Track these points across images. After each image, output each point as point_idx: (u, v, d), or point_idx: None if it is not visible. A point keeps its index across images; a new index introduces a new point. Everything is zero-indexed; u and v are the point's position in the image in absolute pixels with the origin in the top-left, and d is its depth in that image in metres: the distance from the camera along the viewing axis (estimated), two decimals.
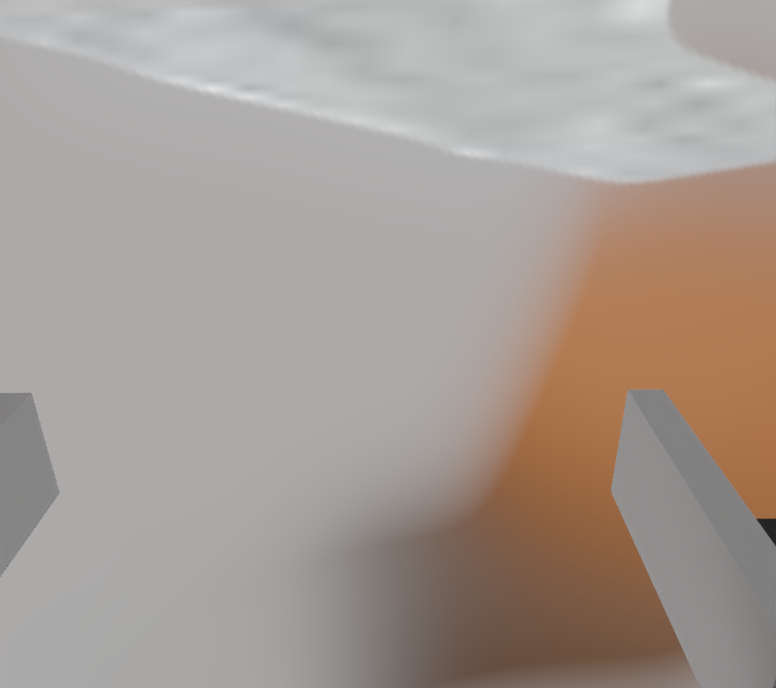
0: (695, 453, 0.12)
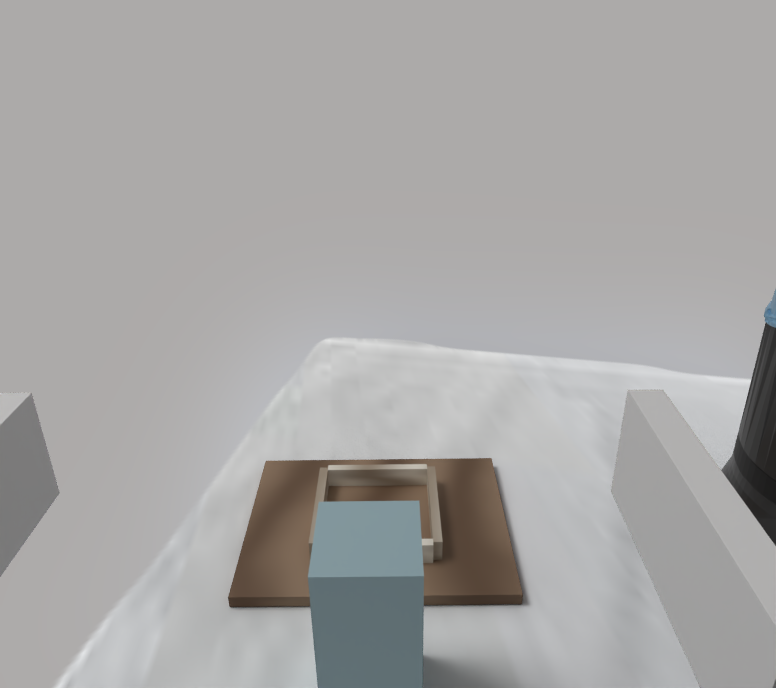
0: (695, 453, 0.12)
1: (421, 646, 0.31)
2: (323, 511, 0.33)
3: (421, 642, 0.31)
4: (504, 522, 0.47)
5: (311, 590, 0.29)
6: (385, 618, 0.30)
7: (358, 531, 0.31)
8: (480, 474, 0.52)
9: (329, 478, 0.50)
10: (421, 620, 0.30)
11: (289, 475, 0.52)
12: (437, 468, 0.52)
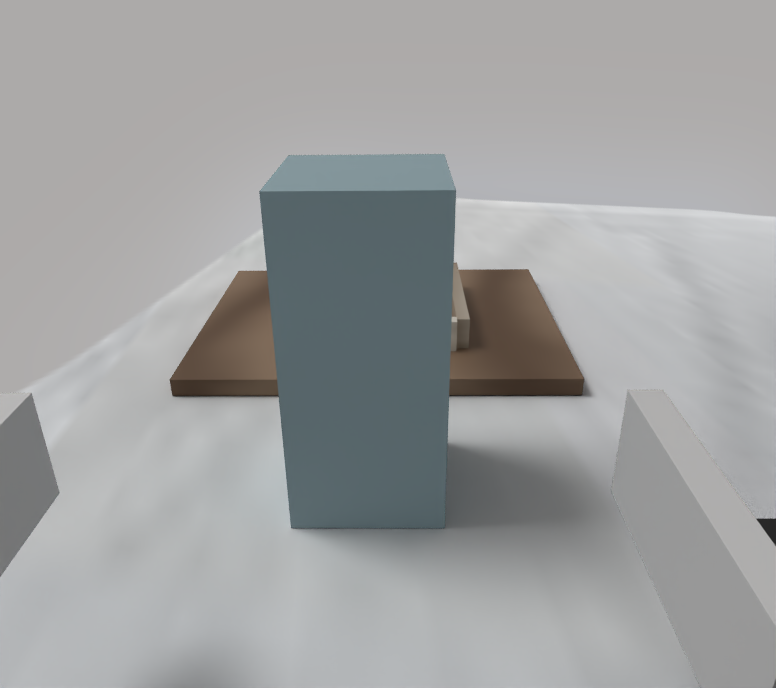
0: (695, 453, 0.12)
1: (448, 343, 0.19)
2: (294, 159, 0.21)
3: (448, 335, 0.19)
4: (551, 318, 0.35)
5: (266, 221, 0.17)
6: (390, 284, 0.18)
7: (348, 168, 0.20)
8: (515, 281, 0.40)
9: None
10: (449, 288, 0.18)
11: None
12: None
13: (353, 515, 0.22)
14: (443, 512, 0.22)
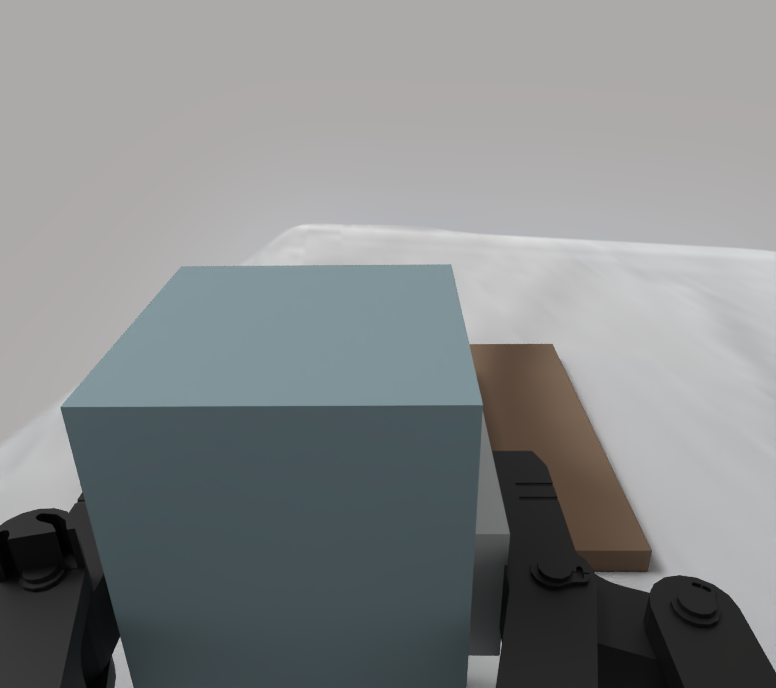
0: None
1: (463, 660, 0.10)
2: (186, 280, 0.12)
3: (463, 647, 0.10)
4: (590, 429, 0.26)
5: (83, 460, 0.08)
6: (347, 568, 0.09)
7: (273, 311, 0.10)
8: (537, 363, 0.31)
9: None
10: (466, 574, 0.09)
11: None
12: None
13: None
14: None
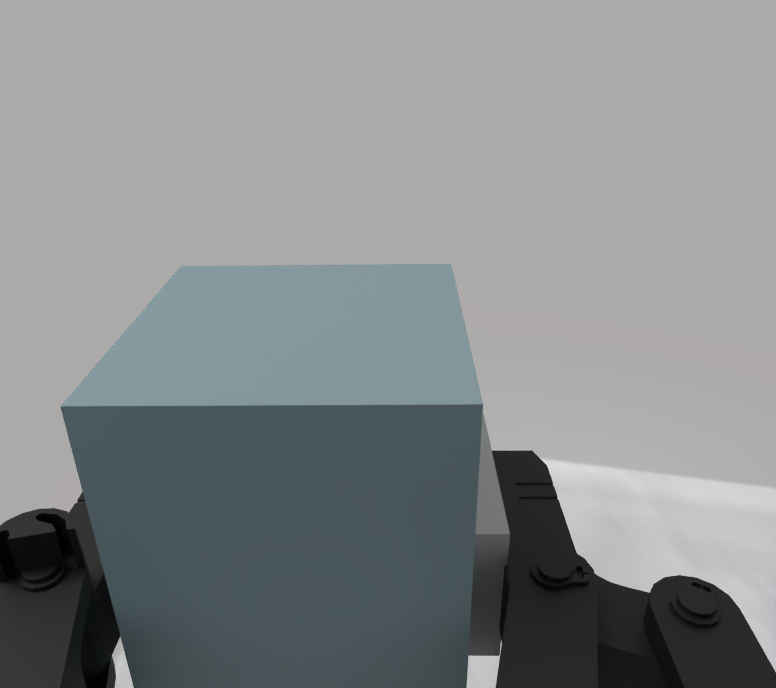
0: None
1: (462, 659, 0.10)
2: (186, 279, 0.12)
3: (463, 647, 0.10)
4: None
5: (83, 460, 0.08)
6: (347, 567, 0.09)
7: (274, 311, 0.10)
8: None
9: None
10: (466, 574, 0.09)
11: None
12: None
13: None
14: None
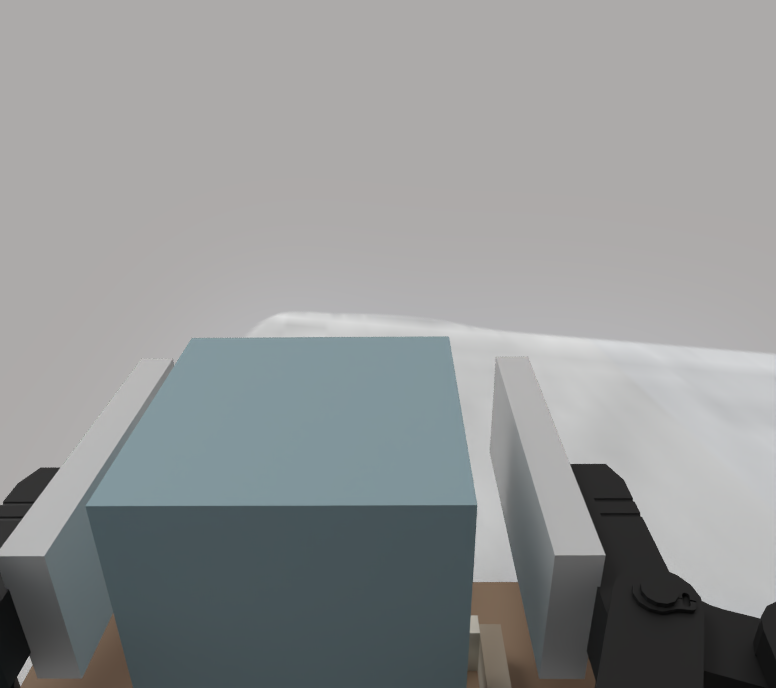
0: (536, 408, 0.14)
1: None
2: (197, 354, 0.12)
3: None
4: None
5: (105, 552, 0.09)
6: (351, 645, 0.10)
7: (280, 393, 0.11)
8: None
9: None
10: (462, 651, 0.10)
11: None
12: (499, 611, 0.21)
13: None
14: None
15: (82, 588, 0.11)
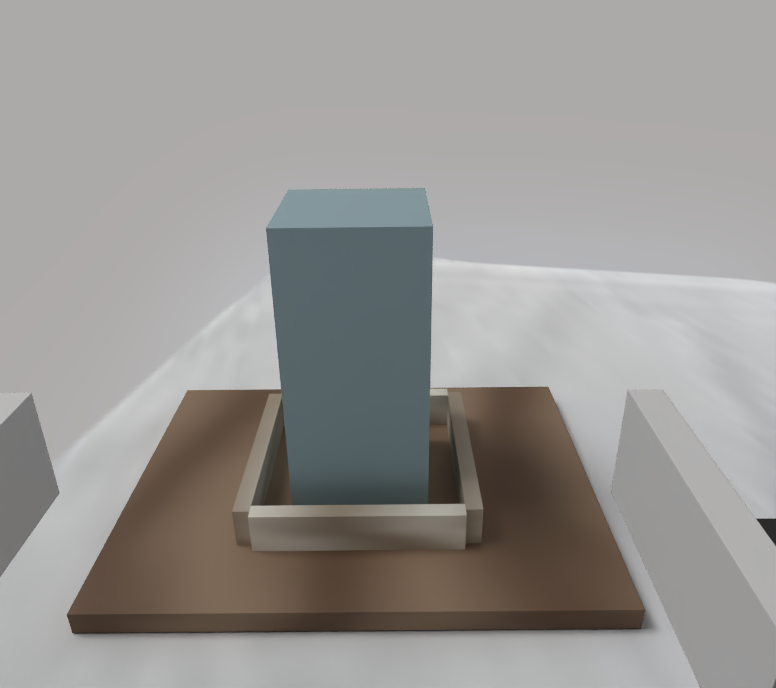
0: (695, 453, 0.12)
1: (428, 355, 0.22)
2: (294, 194, 0.24)
3: (428, 348, 0.22)
4: (585, 480, 0.27)
5: (272, 253, 0.20)
6: (378, 305, 0.21)
7: (341, 203, 0.23)
8: (533, 408, 0.32)
9: None
10: (428, 308, 0.21)
11: (222, 411, 0.32)
12: (462, 399, 0.32)
13: None
14: (426, 501, 0.25)
15: None
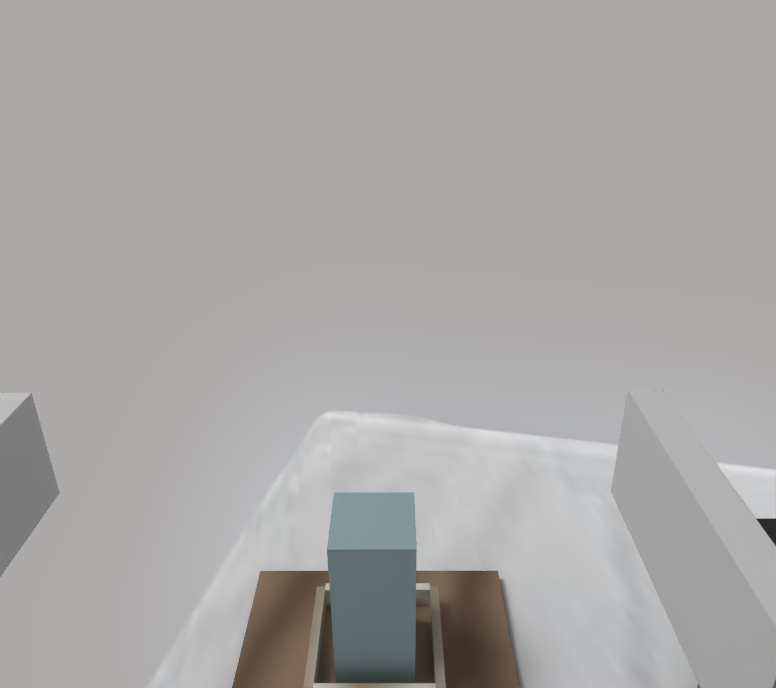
0: (695, 453, 0.12)
1: (414, 605, 0.39)
2: (338, 500, 0.41)
3: (414, 602, 0.39)
4: (511, 655, 0.44)
5: (329, 560, 0.38)
6: (386, 582, 0.39)
7: (366, 515, 0.40)
8: (486, 591, 0.49)
9: (326, 597, 0.48)
10: (414, 584, 0.39)
11: (285, 591, 0.49)
12: (440, 582, 0.50)
13: (368, 677, 0.42)
14: (414, 675, 0.42)
15: None
